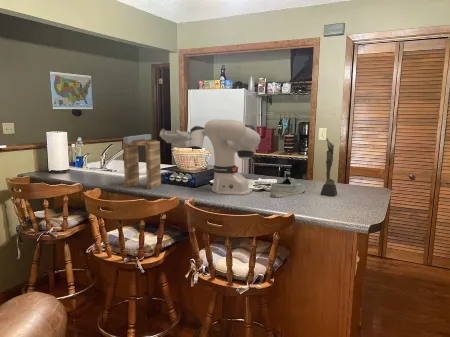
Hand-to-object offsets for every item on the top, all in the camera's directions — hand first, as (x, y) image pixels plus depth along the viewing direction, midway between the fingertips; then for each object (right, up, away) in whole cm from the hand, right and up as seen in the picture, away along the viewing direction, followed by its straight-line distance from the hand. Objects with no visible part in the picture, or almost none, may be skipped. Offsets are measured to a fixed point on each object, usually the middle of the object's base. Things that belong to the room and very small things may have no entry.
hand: (169, 130), depth 229 cm
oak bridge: (-13, -35, -18) cm, 41 cm away
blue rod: (-15, -8, -19) cm, 26 cm away
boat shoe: (+70, -38, -36) cm, 87 cm away
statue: (+91, -38, -37) cm, 105 cm away
